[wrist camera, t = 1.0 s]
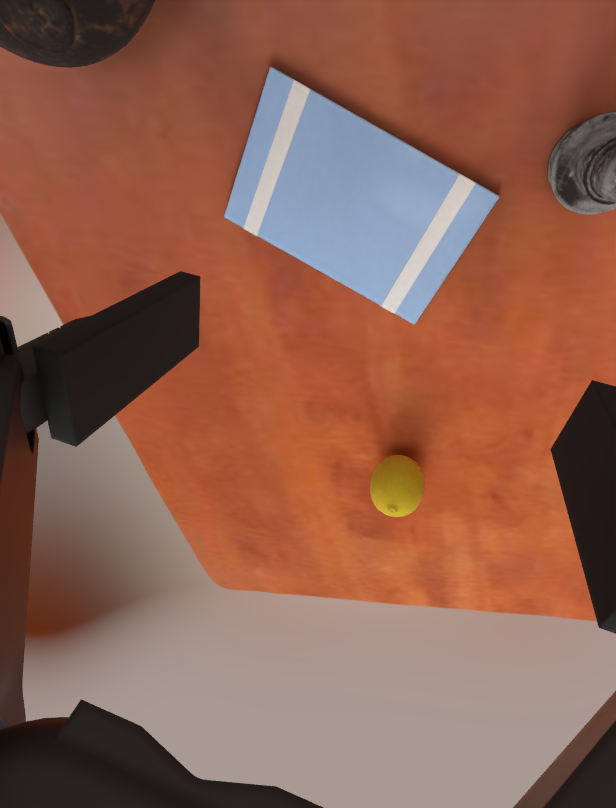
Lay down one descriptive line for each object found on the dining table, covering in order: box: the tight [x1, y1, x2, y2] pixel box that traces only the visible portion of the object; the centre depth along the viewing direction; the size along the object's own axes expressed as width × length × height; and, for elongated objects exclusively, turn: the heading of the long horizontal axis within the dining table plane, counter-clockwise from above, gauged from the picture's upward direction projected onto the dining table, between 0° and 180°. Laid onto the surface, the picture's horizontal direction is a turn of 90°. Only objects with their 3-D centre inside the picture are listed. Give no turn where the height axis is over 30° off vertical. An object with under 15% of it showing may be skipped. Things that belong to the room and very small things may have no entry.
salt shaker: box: [547, 112, 616, 215], centre depth 27 cm, size 6×6×12 cm
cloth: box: [224, 67, 499, 324], centre depth 38 cm, size 12×20×1 cm, turn 66°
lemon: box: [370, 455, 425, 517], centre depth 47 cm, size 6×6×8 cm
